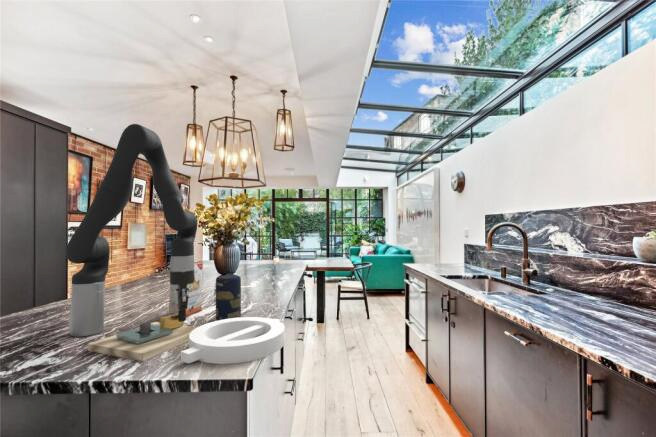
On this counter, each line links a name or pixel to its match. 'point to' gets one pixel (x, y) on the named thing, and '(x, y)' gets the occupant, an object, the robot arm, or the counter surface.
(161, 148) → the robot arm
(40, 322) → the counter surface
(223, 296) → the canister
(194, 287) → the cracker box
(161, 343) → the base board
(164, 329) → the t-shaped piece
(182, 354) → the white circle with bar
